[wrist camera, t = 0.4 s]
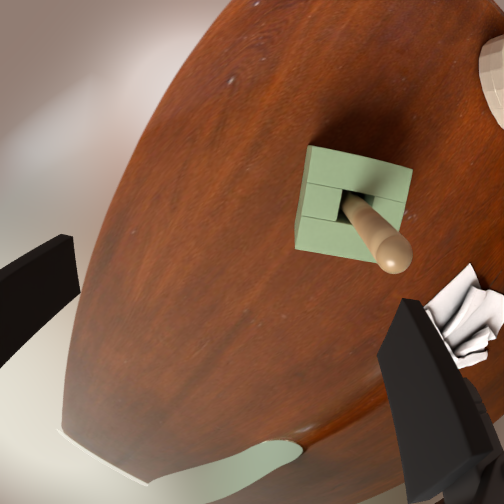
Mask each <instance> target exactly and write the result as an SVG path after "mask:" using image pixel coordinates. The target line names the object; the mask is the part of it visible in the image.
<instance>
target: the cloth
mask: <svg viewBox="0 0 504 504" xmlns="http://www.w3.org/2000/svg"><path fill="white" fill-rule="evenodd" d="M424 309H425V311H426V312H427V314H428V316H429V317H430V319H431V321H432V322H433V324H434V326H435V327H436V329H437V331H438V333H439V334H440V336H441V338H442V340H443V341H444V343H445V345H446V347H447V349H448V350H449V352H450V354H451V356H452V358H453V360H454V362H455V363H456V365H457V367H458V369H460V368H463V367H465V366H471V365H474V364H476V363H478V362H480V361H482V360H485V359H487V355H488V354H487V351H486V352H484V347H486V346H487V345H488V340H493V339H496V337H497V333H498V331H499V329H500V328H501V326H502V325H503V323H504V295H502V294H500V293H497V292H495V291H492V290H489V289H488V290H487V291H483V290H482V289H481V286H480V284H479V281H478V279H477V276H476V274H475V272H474V270H473V268H472V266H471V264H470V263H469V264H468V265H467V266H466V267H465V268H464V269H463V270H462V271H461V272H460V273H459V274H458V275H457V276H456V277H455V278H454V279H453V280H452V281H451V282H450V283H449V284H448V285H447V286H445V287H444V288H443V289H442V290H441V291H440V292H439V293H438V294H437V295H436V296H435V297H434V298H433V299H432V300H431V301H430V302H429V303H427V304H426V305H425V306H424Z"/></svg>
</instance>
